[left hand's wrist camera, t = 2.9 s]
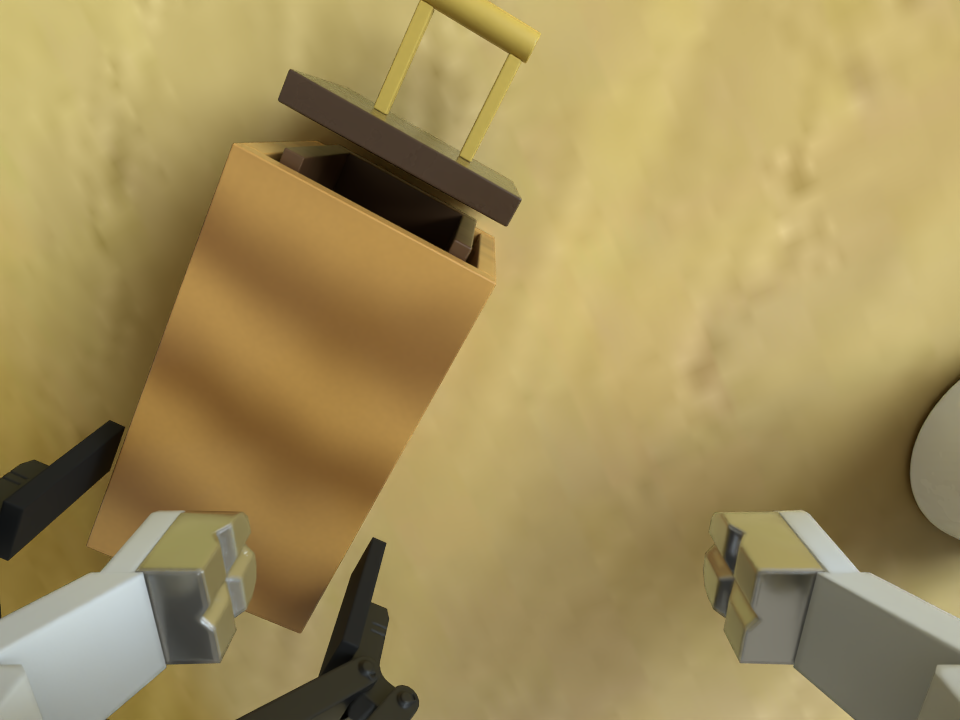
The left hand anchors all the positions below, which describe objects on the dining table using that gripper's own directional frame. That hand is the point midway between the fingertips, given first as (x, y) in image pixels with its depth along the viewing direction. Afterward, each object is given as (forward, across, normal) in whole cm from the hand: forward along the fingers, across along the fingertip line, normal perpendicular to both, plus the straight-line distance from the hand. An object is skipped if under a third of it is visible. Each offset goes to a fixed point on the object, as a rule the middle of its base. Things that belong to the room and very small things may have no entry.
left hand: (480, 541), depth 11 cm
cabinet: (+24, -8, -5) cm, 26 cm away
